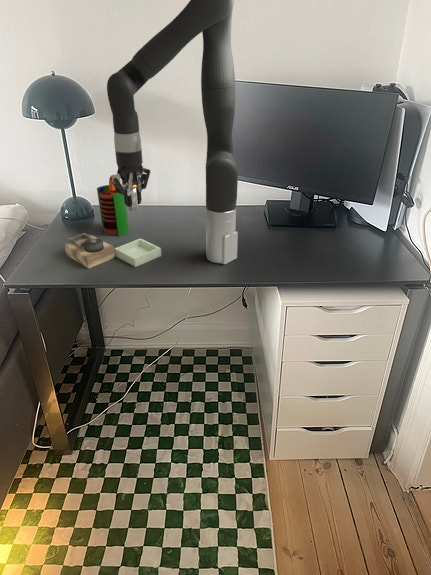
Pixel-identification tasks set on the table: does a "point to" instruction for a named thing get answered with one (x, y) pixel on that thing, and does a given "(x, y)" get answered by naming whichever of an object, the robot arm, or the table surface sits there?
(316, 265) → the table surface
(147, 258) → the tray
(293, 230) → the table surface
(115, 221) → the motor
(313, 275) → the table surface
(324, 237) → the table surface
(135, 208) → the pin
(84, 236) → the pulley block
